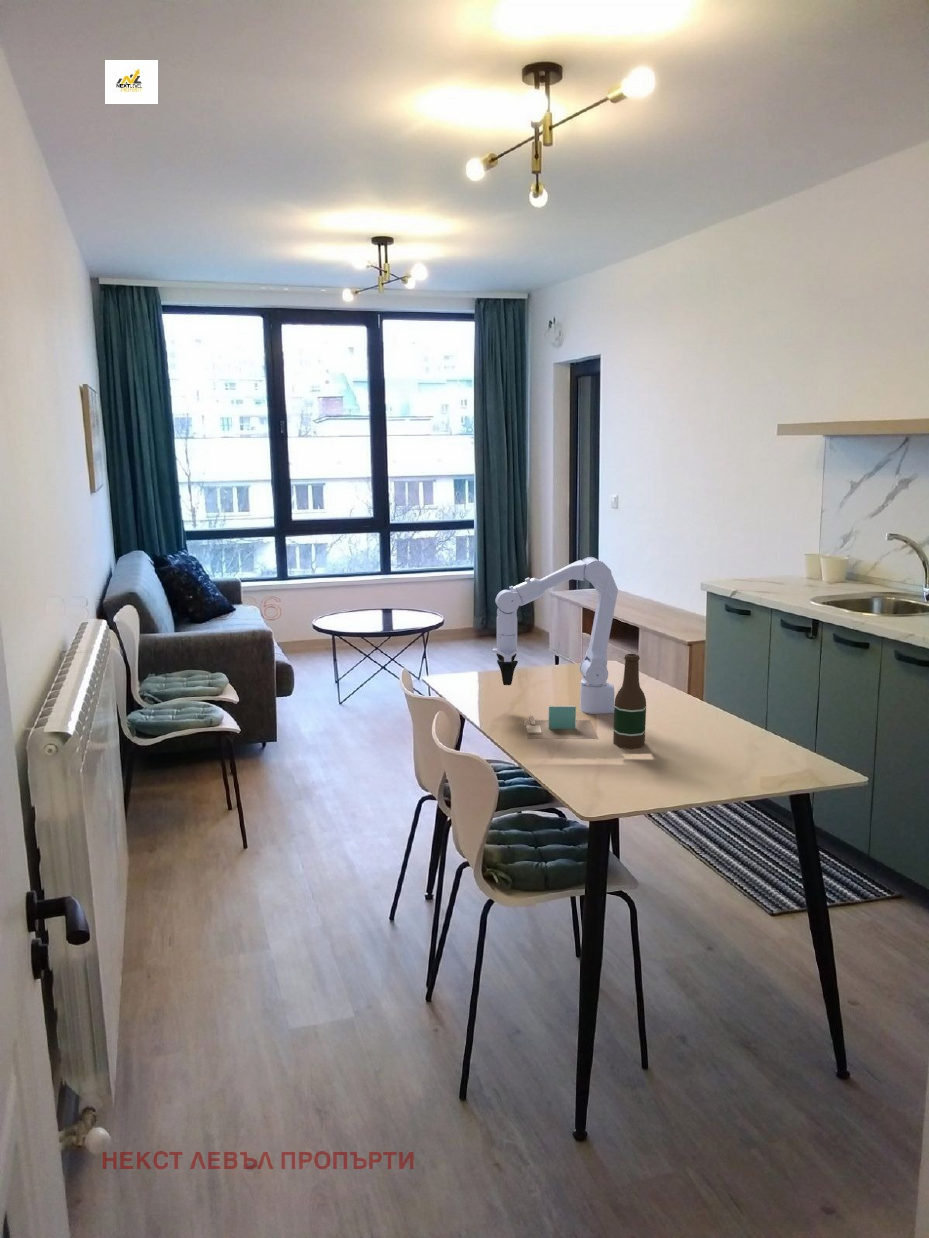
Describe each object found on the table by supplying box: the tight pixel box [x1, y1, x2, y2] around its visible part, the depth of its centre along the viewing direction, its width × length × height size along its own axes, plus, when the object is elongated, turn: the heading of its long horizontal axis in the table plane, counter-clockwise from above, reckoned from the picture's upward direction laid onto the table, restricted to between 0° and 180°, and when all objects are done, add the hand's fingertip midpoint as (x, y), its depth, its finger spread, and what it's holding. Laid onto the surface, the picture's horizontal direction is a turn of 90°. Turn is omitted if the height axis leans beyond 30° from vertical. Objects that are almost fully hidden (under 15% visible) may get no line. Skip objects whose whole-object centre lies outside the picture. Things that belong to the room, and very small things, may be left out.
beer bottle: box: [612, 653, 647, 750], centre depth 221 cm, size 8×8×24 cm
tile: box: [547, 704, 577, 729], centre depth 235 cm, size 7×2×6 cm, turn 90°
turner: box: [525, 715, 542, 734], centre depth 237 cm, size 4×14×1 cm, turn 0°
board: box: [523, 719, 599, 740], centre depth 235 cm, size 18×16×1 cm
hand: (506, 681), depth 249 cm, fingers open, 7 cm apart
